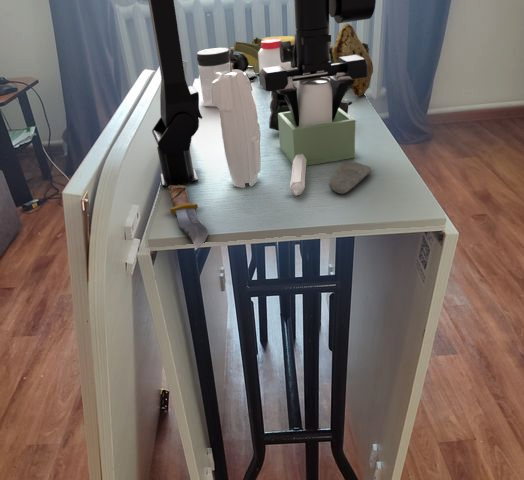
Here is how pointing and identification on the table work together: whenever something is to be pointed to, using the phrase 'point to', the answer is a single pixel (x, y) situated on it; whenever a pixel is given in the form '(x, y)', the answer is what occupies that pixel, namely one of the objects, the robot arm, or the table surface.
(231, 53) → the toy
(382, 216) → the table surface
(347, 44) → the pastry
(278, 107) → the cat figurine
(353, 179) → the stone
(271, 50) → the pill bottle
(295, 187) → the marker
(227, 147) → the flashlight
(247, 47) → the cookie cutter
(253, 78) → the pen
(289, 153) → the bin
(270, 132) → the table surface
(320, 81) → the can
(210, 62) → the jar
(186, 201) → the knife
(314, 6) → the robot arm
